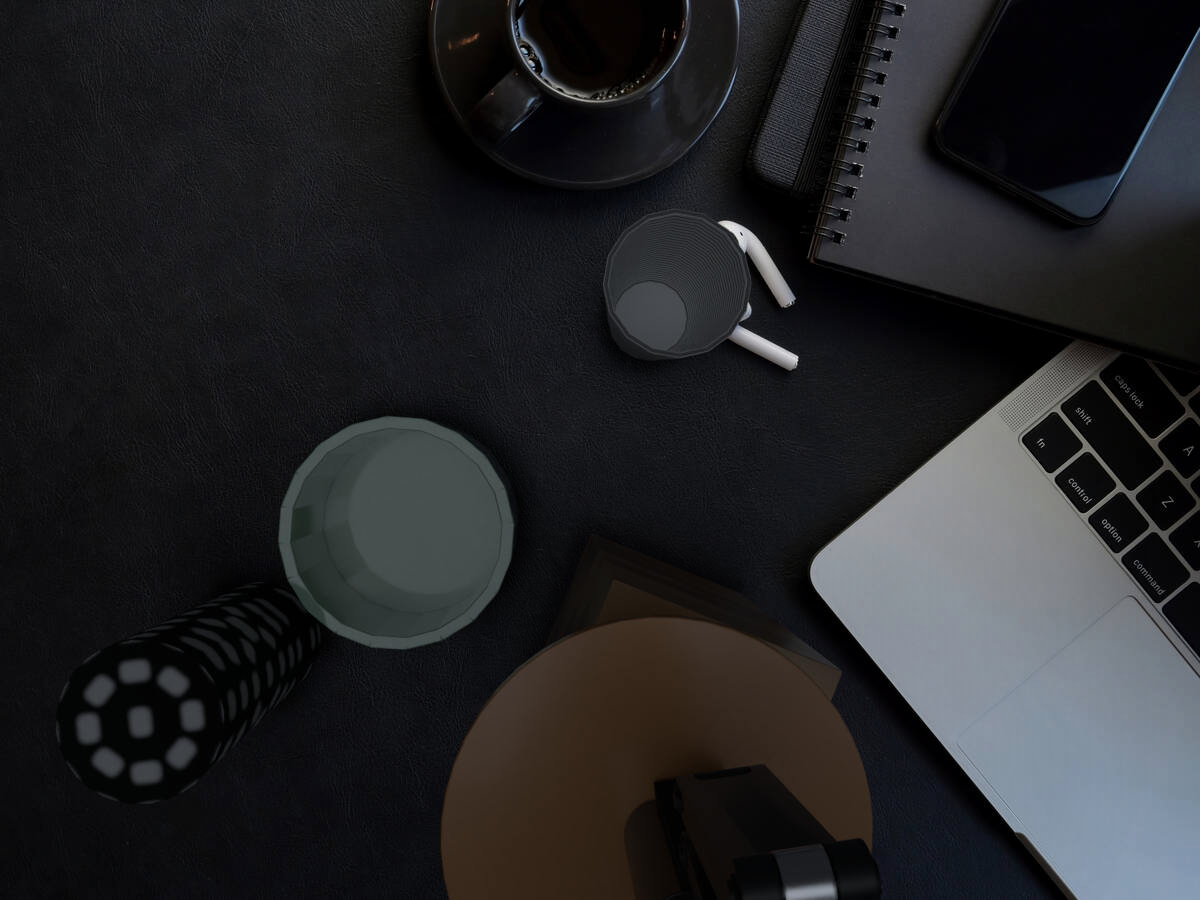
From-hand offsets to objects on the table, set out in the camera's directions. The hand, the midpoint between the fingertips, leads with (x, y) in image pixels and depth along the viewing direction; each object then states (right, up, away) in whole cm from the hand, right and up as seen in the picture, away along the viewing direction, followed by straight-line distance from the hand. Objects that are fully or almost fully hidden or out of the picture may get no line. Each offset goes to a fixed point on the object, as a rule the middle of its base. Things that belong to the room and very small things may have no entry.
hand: (698, 834), depth 33 cm
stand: (-1, 0, +35) cm, 35 cm away
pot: (-17, +8, +35) cm, 39 cm away
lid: (-1, 0, +1) cm, 2 cm away
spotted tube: (-28, 0, +34) cm, 44 cm away
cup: (0, +23, +36) cm, 42 cm away
